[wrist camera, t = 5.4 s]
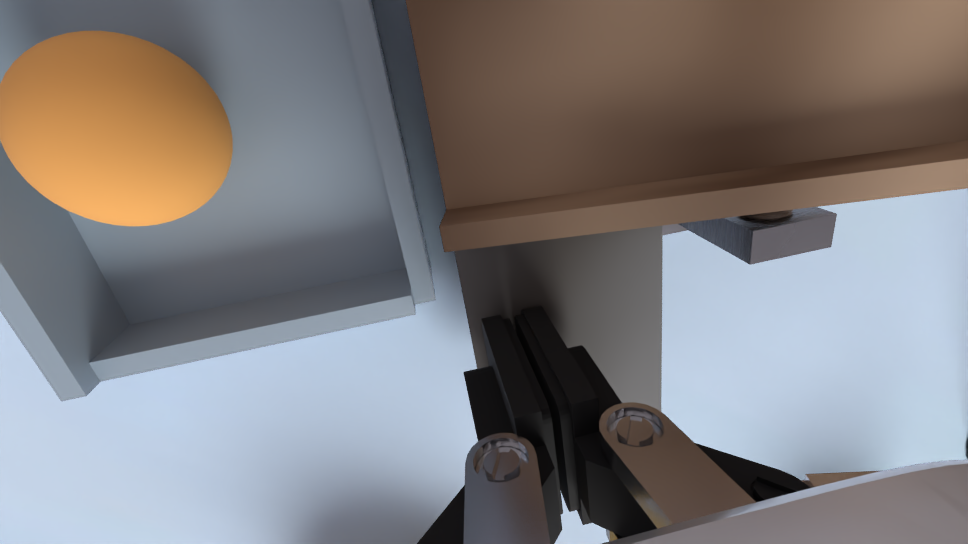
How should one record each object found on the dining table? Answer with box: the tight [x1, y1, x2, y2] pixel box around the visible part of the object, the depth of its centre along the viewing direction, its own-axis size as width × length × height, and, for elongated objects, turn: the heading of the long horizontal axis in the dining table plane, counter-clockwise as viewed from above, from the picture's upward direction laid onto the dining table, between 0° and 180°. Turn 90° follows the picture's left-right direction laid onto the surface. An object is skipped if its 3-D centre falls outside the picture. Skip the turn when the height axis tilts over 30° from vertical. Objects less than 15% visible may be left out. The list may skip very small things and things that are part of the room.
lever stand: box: [662, 207, 837, 264], centre depth 11 cm, size 4×12×6 cm, turn 9°
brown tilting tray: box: [406, 0, 968, 412], centre depth 11 cm, size 15×14×4 cm
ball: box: [0, 31, 233, 226], centre depth 10 cm, size 4×4×4 cm
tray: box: [0, 0, 436, 401], centre depth 11 cm, size 10×12×3 cm
